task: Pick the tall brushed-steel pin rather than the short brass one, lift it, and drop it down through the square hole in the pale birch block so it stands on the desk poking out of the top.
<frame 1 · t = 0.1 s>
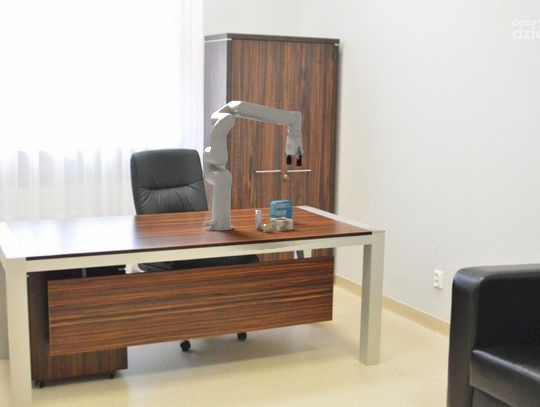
hand: (293, 165, 395), 31 cm above the table, tool pointing down, fingers open, 9 cm apart
data package: (281, 222, 396), on the table
tall pin: (258, 229, 376), on the table
pin block: (281, 228, 379), on the table
short pin: (266, 232, 369), on the table
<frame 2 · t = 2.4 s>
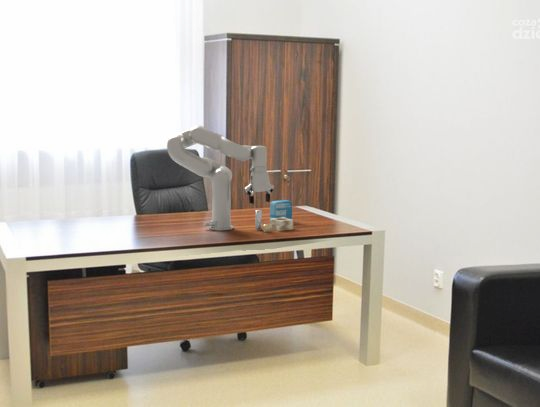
hand: (259, 202, 374), 14 cm above the table, tool pointing down, fingers open, 9 cm apart
nothing on the table moved.
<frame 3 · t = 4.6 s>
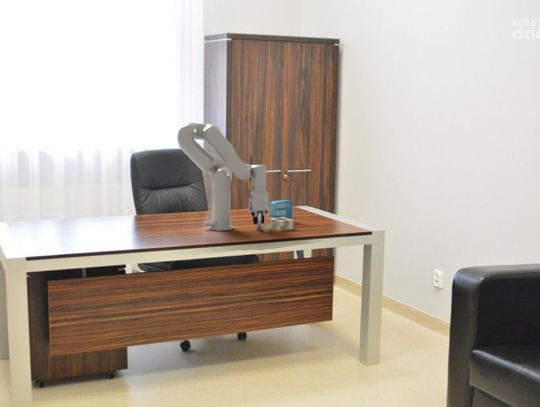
hand: (258, 223, 375), 3 cm above the table, tool pointing down, fingers closed on tall pin, 3 cm apart
tall pin: (258, 229, 376), on the table, touching gripper
everything else where it was.
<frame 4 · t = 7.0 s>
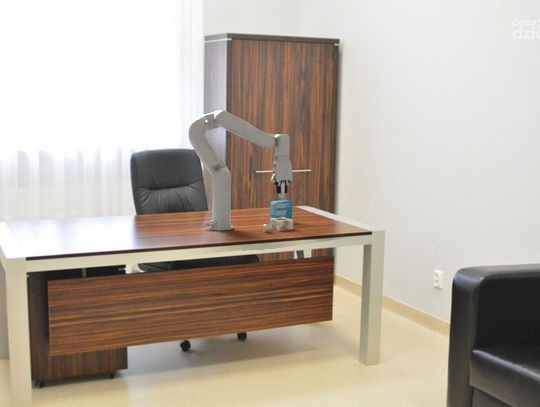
hand: (281, 193, 376), 19 cm above the table, tool pointing down, fingers closed on tall pin, 3 cm apart
tall pin: (281, 199, 376), point 16 cm above the table, touching gripper
everything else where it was.
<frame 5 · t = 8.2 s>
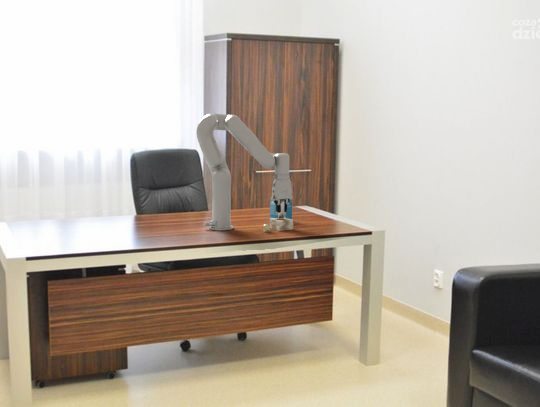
hand: (281, 211, 377), 9 cm above the table, tool pointing down, fingers closed on tall pin, 3 cm apart
tall pin: (281, 217, 378), point 6 cm above the table, touching gripper
everything else where it was.
when the fingers open (6 cm above the table, at t = 9.4 s): tall pin drops 3 cm, resting in pin block.
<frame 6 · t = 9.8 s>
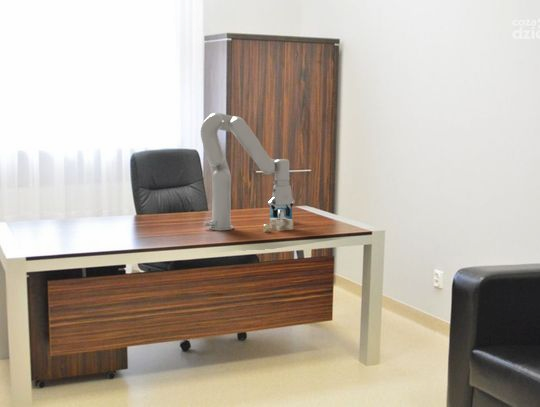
hand: (281, 216, 378), 7 cm above the table, tool pointing down, fingers open, 7 cm apart
tall pin: (281, 228, 379), resting in pin block
everything else where it was.
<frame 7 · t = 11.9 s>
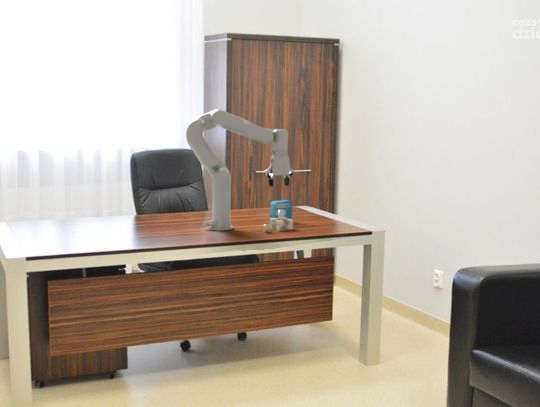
hand: (278, 185, 375), 23 cm above the table, tool pointing down, fingers open, 9 cm apart
nothing on the table moved.
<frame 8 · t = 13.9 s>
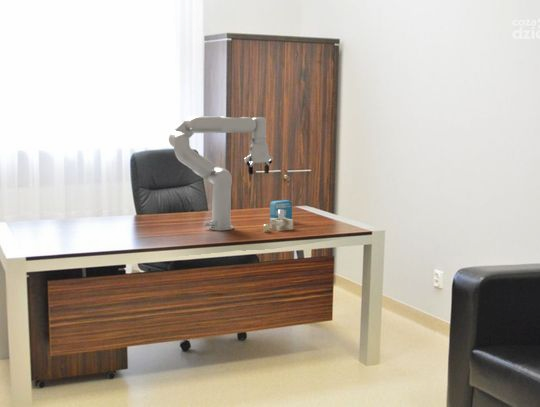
hand: (258, 173, 379), 28 cm above the table, tool pointing down, fingers open, 9 cm apart
nothing on the table moved.
at the end: tall pin 0.1 cm off-centre on the pin block, point 0.0 cm above the pin block's base; tall pin tilted 0°; short pin moved 0.1 cm from its start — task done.
